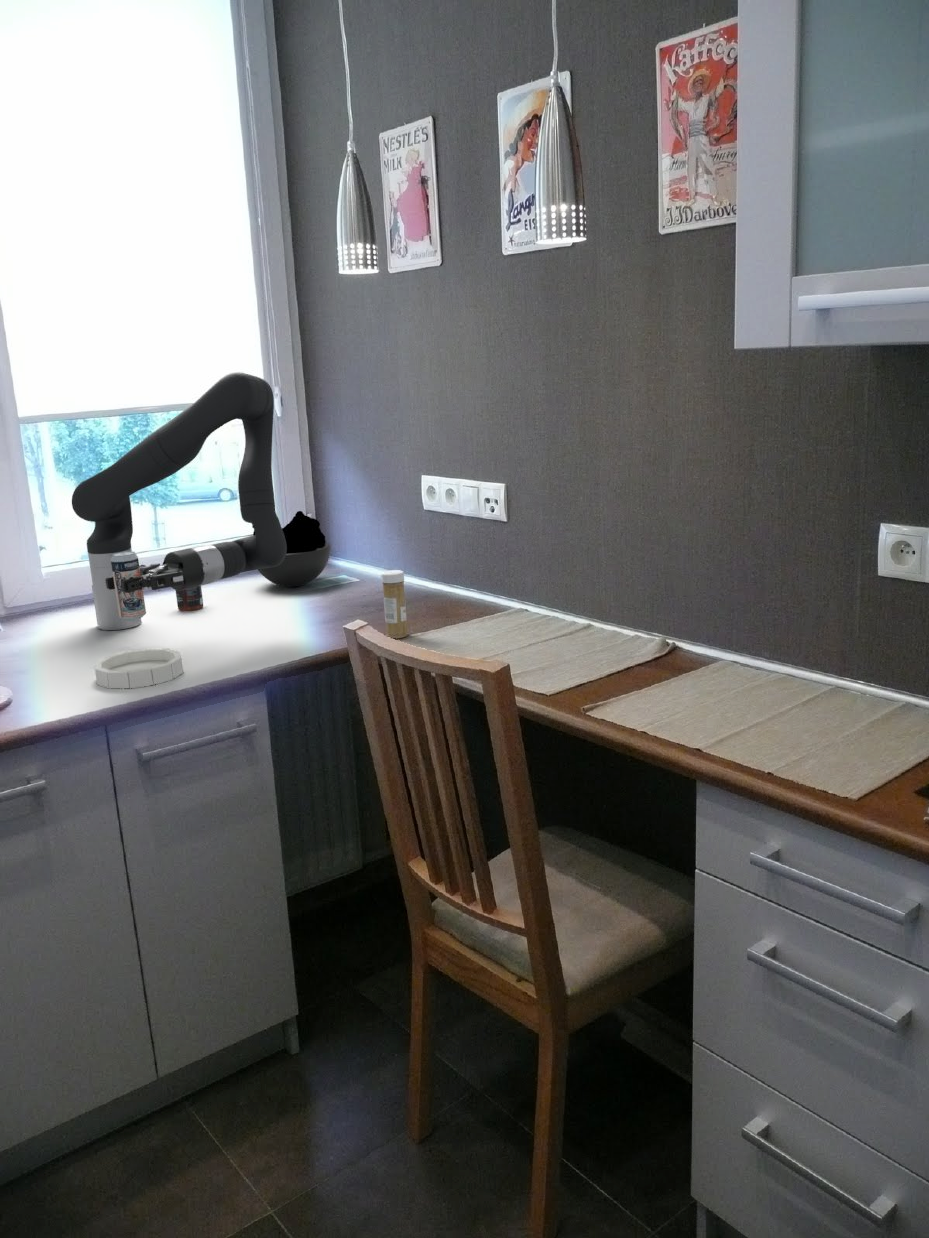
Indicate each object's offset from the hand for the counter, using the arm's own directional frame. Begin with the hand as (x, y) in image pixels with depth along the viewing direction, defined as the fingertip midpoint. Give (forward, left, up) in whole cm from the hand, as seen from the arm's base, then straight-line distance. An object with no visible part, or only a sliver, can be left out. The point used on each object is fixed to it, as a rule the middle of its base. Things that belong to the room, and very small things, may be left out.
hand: (115, 585), depth 187 cm
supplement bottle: (-38, +40, -18) cm, 58 cm away
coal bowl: (-35, +69, -18) cm, 79 cm away
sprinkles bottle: (+23, +48, -18) cm, 56 cm away
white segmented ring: (0, +3, -18) cm, 18 cm away
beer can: (0, +3, -7) cm, 7 cm away
